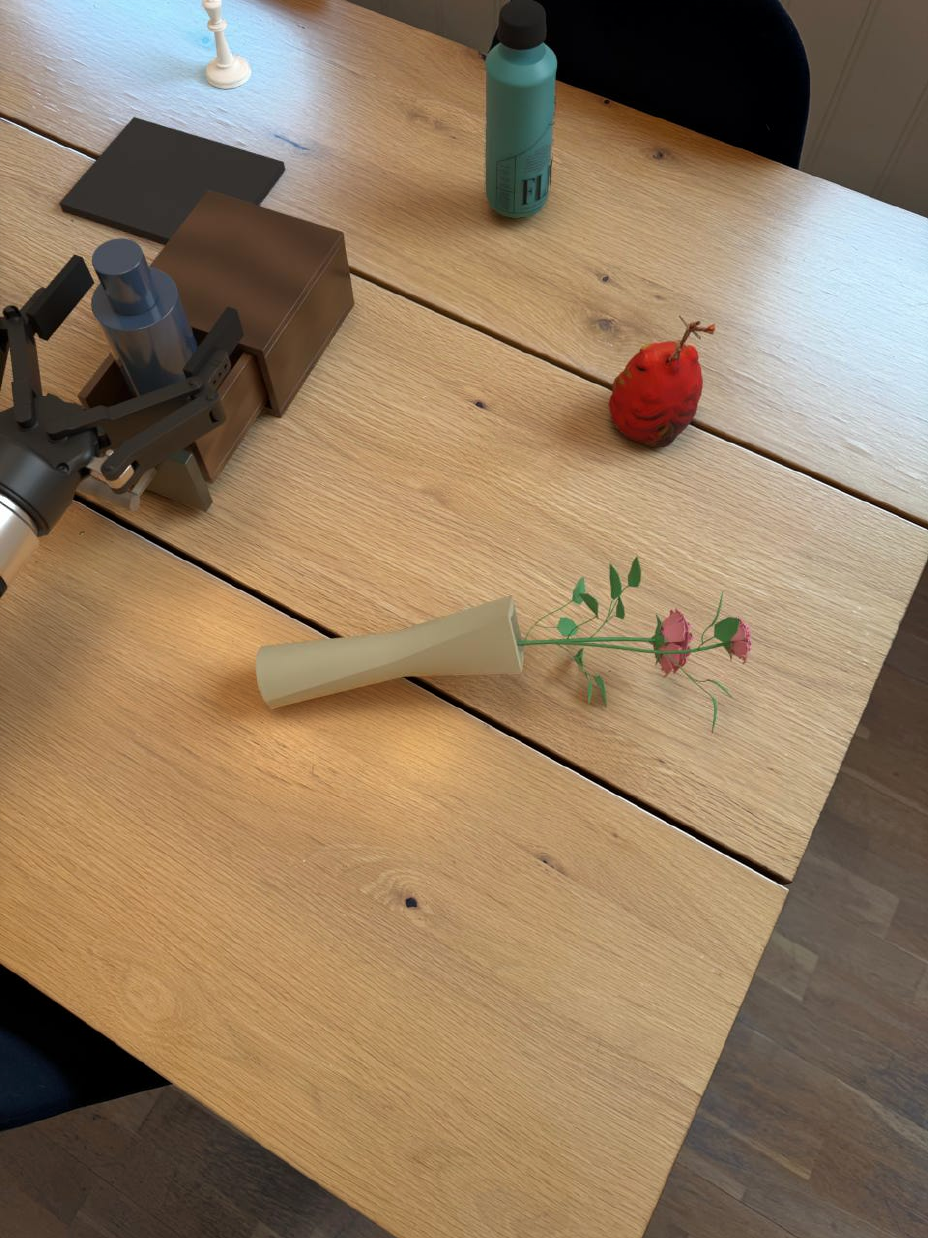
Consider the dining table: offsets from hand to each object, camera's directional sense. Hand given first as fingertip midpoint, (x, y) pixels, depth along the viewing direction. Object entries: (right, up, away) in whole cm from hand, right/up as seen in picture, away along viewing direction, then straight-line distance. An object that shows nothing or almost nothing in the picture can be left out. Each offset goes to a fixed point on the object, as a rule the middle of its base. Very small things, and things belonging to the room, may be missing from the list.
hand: (159, 293), depth 78 cm
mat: (-6, +19, +25) cm, 32 cm away
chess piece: (-2, +35, +34) cm, 49 cm away
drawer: (-2, -10, +10) cm, 14 cm away
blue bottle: (-1, -7, +10) cm, 12 cm away
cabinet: (+4, +1, +16) cm, 17 cm away
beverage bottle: (+29, +16, +24) cm, 40 cm away
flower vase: (+26, -30, +1) cm, 39 cm away
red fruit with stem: (+40, -8, +11) cm, 42 cm away
